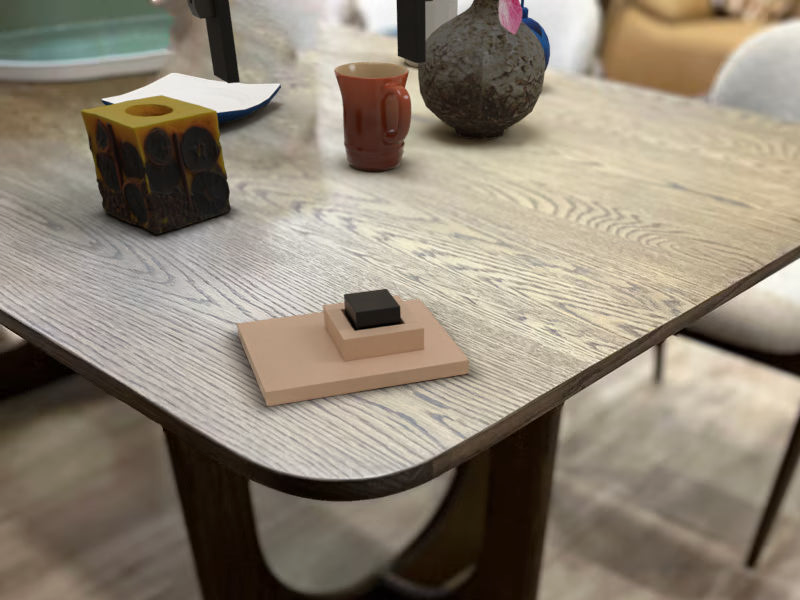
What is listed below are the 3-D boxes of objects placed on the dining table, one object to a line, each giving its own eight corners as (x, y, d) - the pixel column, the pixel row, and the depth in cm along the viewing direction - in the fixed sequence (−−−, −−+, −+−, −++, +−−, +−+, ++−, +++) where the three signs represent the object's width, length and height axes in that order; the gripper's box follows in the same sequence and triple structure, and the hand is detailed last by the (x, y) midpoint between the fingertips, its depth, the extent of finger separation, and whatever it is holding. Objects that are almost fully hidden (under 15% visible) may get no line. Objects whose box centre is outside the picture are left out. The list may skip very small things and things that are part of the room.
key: (357, 334, 65) (355, 312, 64) (344, 315, 68) (343, 293, 67) (401, 327, 66) (400, 306, 65) (387, 309, 69) (386, 288, 68)
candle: (156, 237, 86) (133, 129, 79) (100, 213, 91) (74, 109, 84) (235, 212, 92) (220, 109, 85) (179, 191, 97) (160, 92, 90)
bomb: (470, 89, 136) (474, -25, 126) (511, 79, 142) (518, -32, 132) (518, 100, 131) (525, -18, 121) (558, 89, 137) (569, -25, 127)
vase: (479, 111, 126) (489, -158, 106) (569, 136, 117) (599, -153, 97) (395, 131, 117) (389, -159, 97) (485, 159, 108) (500, -154, 88)
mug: (327, 160, 106) (320, 66, 99) (386, 150, 110) (383, 59, 103) (376, 186, 99) (373, 87, 92) (437, 175, 103) (438, 78, 96)
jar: (407, 70, 146) (405, -62, 133) (398, 58, 153) (395, -68, 140) (462, 68, 147) (465, -62, 135) (450, 57, 154) (453, -68, 142)
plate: (224, 137, 113) (221, 115, 111) (95, 121, 118) (89, 100, 116) (292, 103, 127) (290, 82, 126) (174, 90, 132) (170, 70, 130)
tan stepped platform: (267, 406, 62) (261, 369, 60) (238, 336, 70) (233, 302, 68) (468, 373, 66) (470, 337, 64) (419, 311, 74) (419, 278, 72)
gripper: (42, -478, 35) (156, 101, 49) (532, -405, 45) (507, 61, 59) (9, -444, 40) (122, 75, 54) (458, -385, 49) (452, 43, 64)
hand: (323, 69), depth 57 cm, fingers open, 13 cm apart
